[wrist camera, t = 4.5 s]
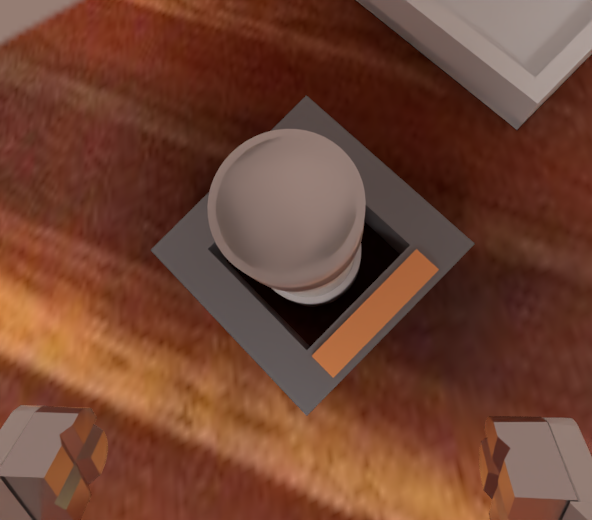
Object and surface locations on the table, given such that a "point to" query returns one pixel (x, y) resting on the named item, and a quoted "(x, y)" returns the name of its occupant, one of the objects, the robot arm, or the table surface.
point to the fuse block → (361, 314)
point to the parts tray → (497, 45)
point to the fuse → (290, 214)
